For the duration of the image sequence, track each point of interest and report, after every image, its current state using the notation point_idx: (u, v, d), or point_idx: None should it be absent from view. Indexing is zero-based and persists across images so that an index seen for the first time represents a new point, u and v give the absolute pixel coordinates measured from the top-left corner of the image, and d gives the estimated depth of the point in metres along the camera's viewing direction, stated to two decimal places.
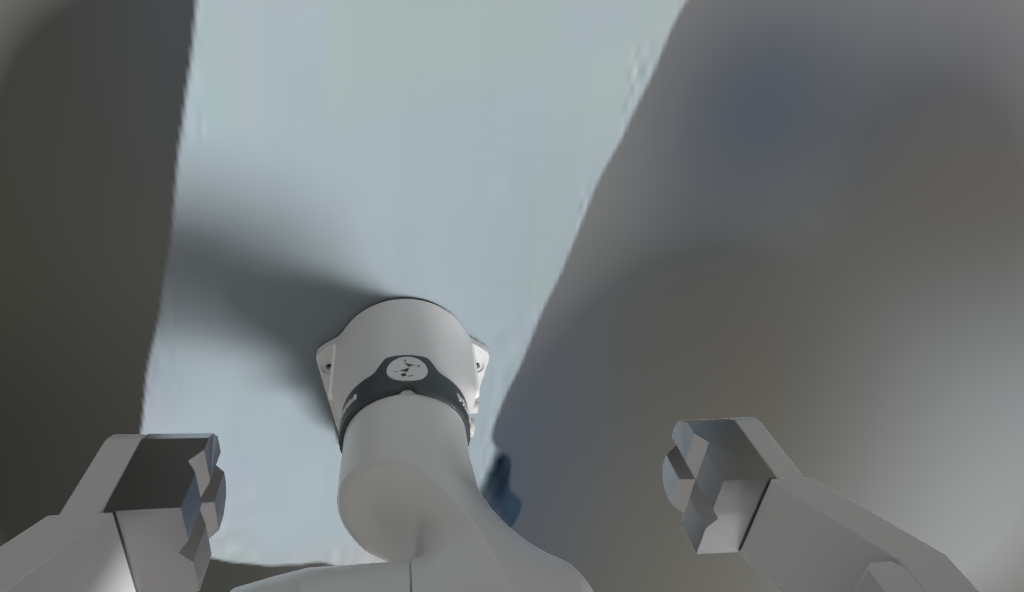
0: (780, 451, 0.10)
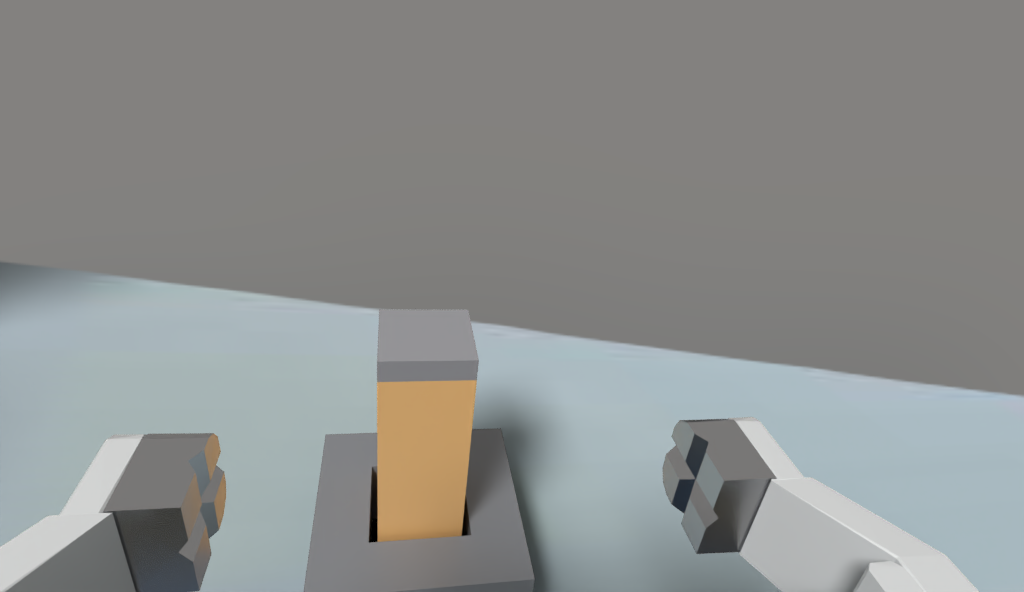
0: (780, 451, 0.10)
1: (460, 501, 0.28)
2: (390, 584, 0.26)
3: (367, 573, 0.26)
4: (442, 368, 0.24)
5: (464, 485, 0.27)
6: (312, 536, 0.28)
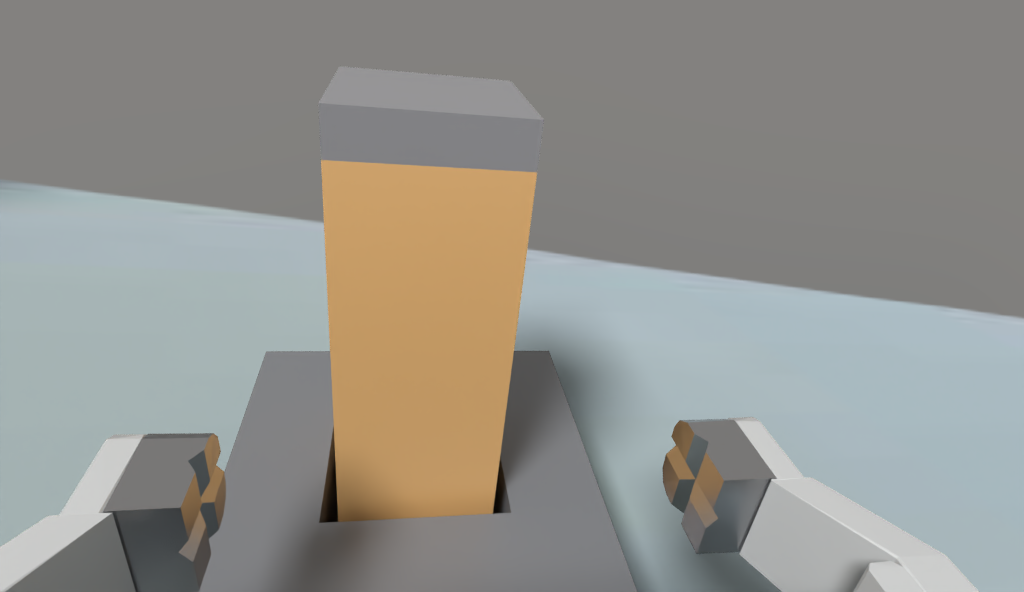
0: (780, 452, 0.10)
1: (493, 447, 0.15)
2: None
3: (310, 582, 0.13)
4: (465, 135, 0.11)
5: (501, 415, 0.14)
6: None
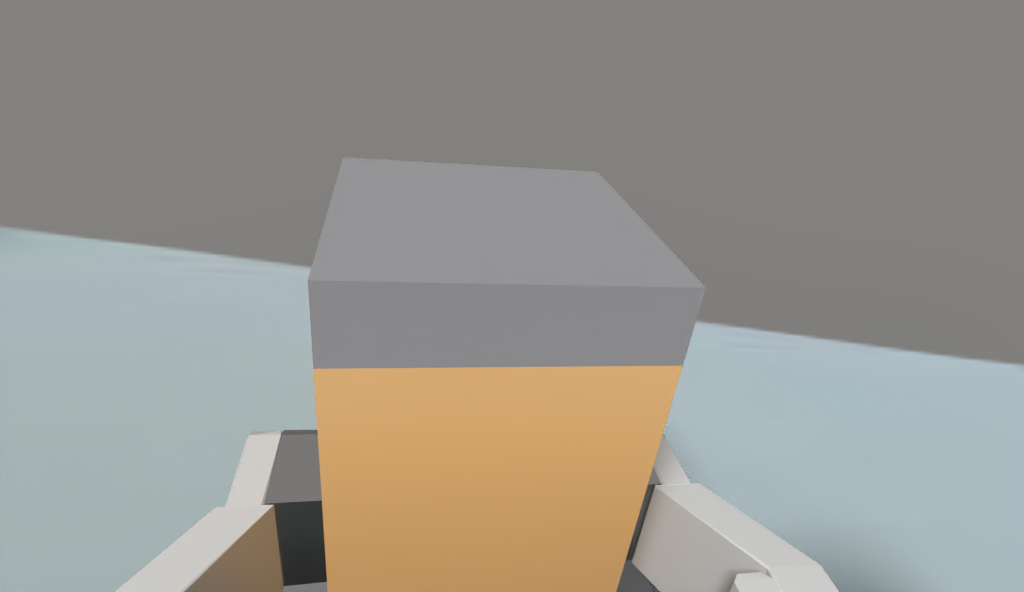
0: (674, 456, 0.10)
1: None
2: None
3: None
4: (568, 317, 0.06)
5: None
6: None
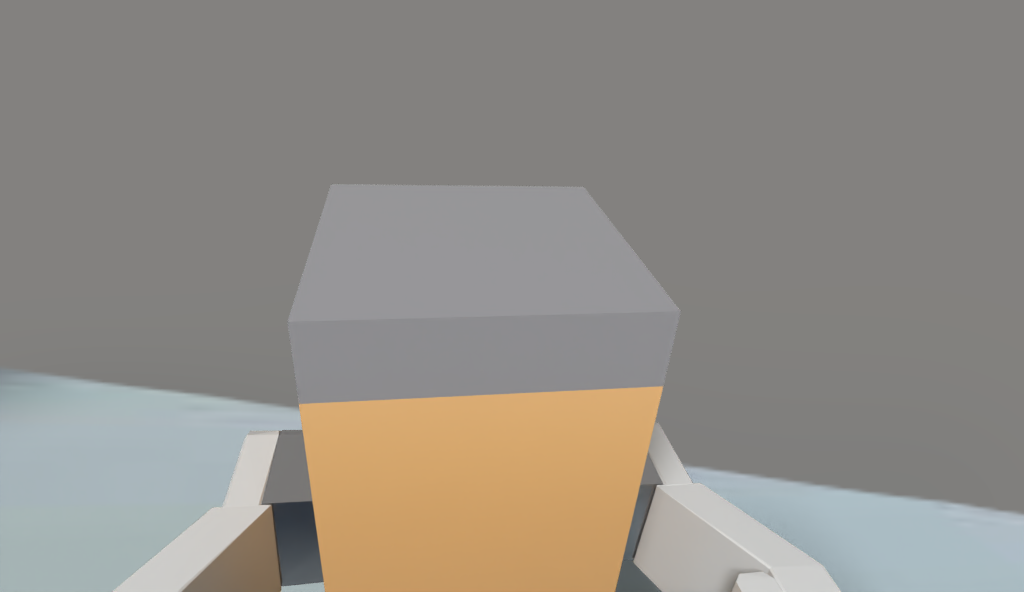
0: (675, 455, 0.10)
1: None
2: None
3: None
4: (545, 345, 0.06)
5: None
6: None
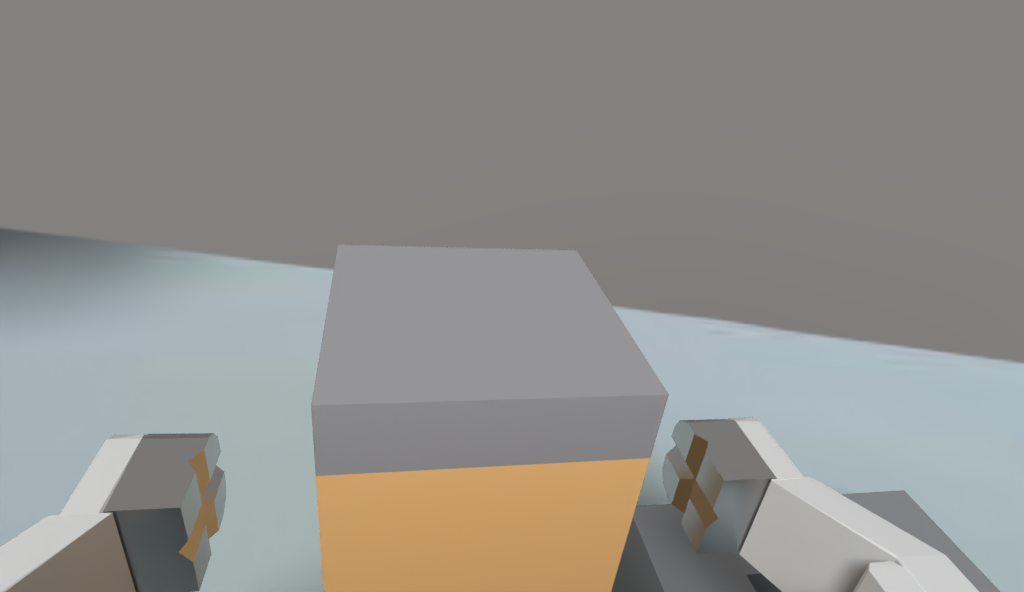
0: (780, 451, 0.10)
1: None
2: None
3: None
4: (545, 424, 0.07)
5: None
6: None
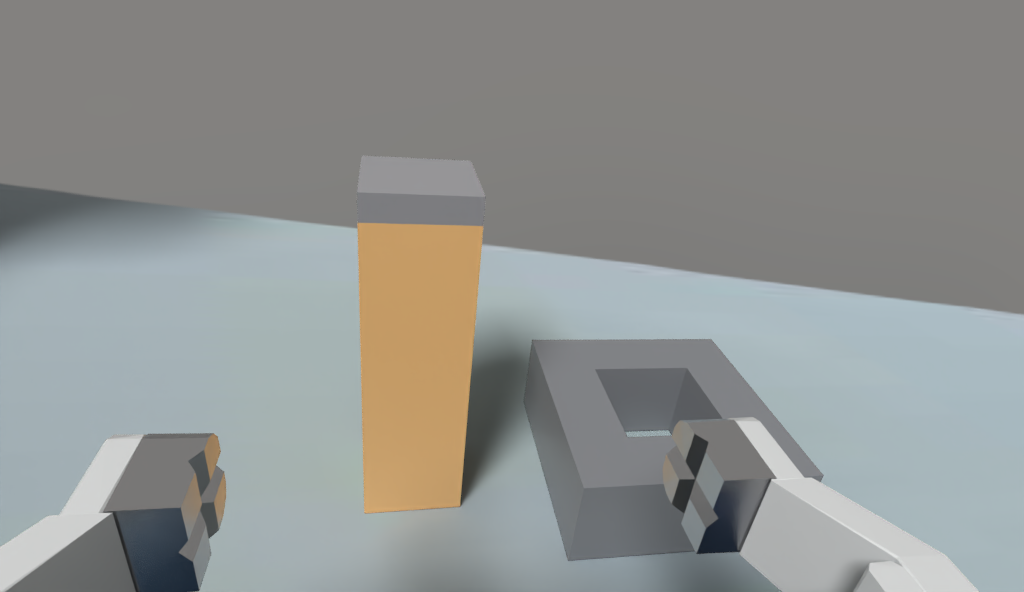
0: (780, 451, 0.10)
1: (463, 397, 0.23)
2: None
3: (641, 465, 0.23)
4: (440, 206, 0.19)
5: (468, 375, 0.22)
6: (564, 429, 0.25)
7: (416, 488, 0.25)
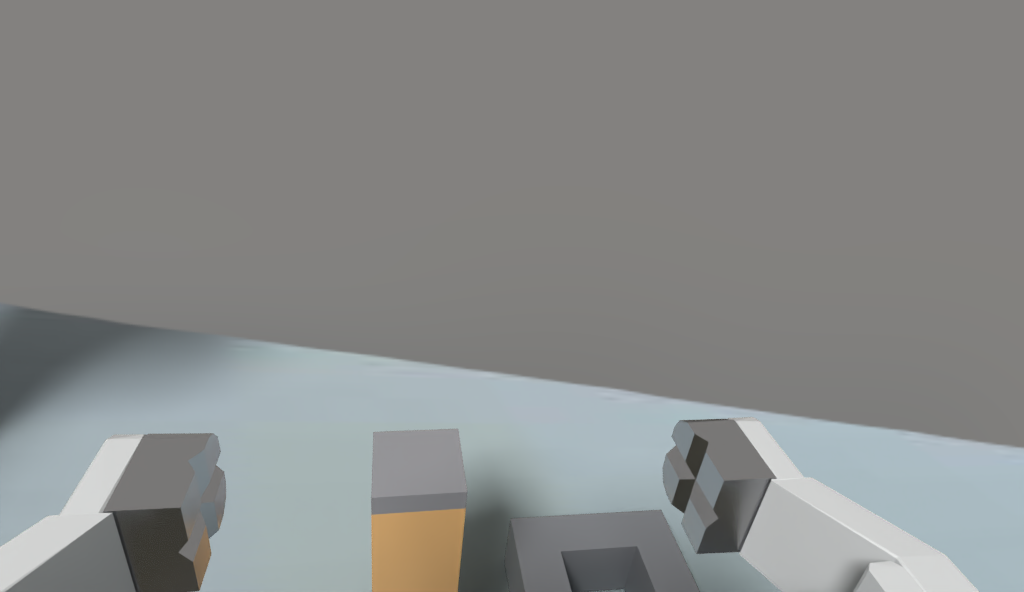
0: (780, 452, 0.10)
1: None
2: None
3: None
4: (433, 500, 0.25)
5: None
6: None
7: None
